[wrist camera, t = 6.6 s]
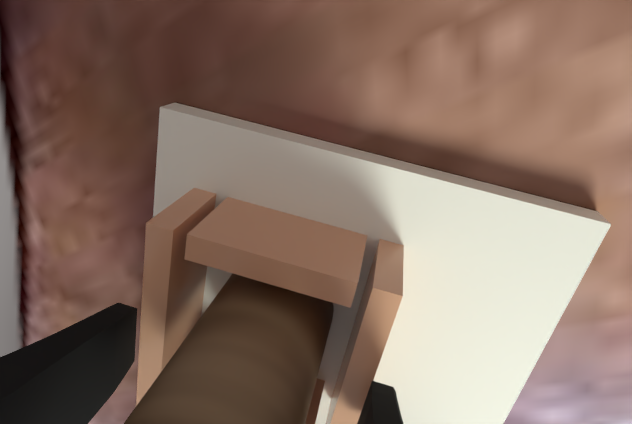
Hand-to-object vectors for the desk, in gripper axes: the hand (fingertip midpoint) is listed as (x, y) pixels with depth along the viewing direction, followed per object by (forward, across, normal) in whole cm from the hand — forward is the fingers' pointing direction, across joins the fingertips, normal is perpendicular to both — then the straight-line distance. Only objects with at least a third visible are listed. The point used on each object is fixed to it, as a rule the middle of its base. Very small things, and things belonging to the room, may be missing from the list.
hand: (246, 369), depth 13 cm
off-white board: (+4, -2, +4) cm, 6 cm away
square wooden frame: (+4, 0, 0) cm, 4 cm away
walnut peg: (+3, 0, 0) cm, 3 cm away
